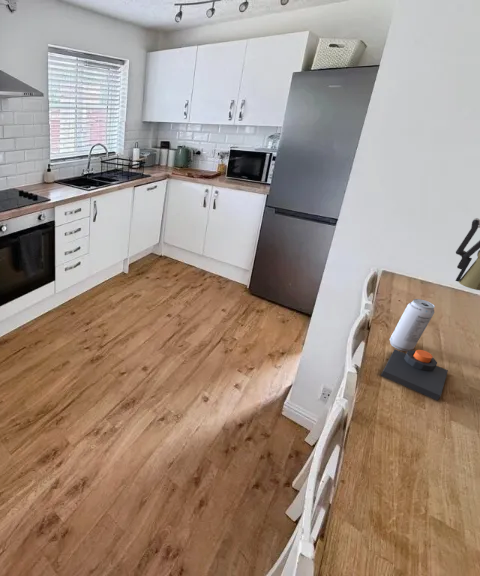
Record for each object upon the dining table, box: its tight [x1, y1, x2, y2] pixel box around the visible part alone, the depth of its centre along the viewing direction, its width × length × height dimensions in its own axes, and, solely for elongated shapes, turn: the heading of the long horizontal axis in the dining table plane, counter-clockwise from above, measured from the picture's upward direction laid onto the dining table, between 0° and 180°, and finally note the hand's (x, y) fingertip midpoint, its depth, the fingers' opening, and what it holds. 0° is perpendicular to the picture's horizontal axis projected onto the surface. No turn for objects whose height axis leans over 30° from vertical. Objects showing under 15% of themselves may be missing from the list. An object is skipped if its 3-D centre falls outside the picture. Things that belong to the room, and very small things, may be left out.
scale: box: [380, 348, 449, 402], centre depth 98 cm, size 15×12×4 cm
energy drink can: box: [389, 298, 436, 352], centre depth 107 cm, size 6×6×15 cm
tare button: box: [413, 349, 434, 363], centre depth 100 cm, size 4×4×2 cm
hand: (473, 284), depth 102 cm, fingers closed on cork, 6 cm apart
